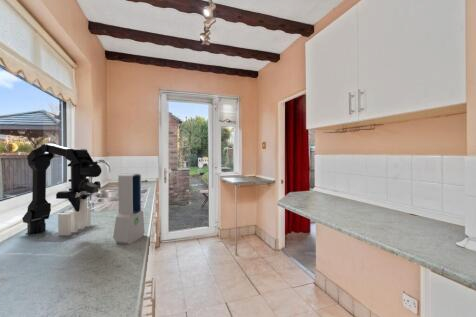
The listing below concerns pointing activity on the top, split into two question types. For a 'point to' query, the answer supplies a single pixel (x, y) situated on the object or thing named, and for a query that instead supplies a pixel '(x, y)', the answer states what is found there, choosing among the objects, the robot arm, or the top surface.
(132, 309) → the top surface
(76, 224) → the domino
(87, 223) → the domino
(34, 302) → the top surface
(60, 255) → the top surface
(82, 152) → the robot arm
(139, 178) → the electronic device
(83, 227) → the domino
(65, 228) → the domino
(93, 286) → the top surface
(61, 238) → the rubber mat
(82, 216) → the domino
